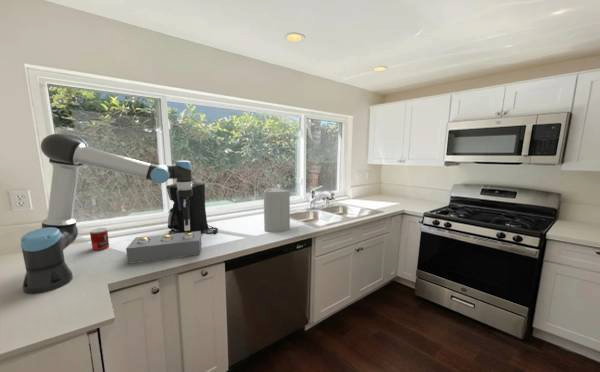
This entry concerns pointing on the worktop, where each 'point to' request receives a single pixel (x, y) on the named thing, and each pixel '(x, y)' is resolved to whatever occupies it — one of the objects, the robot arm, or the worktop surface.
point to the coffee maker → (195, 209)
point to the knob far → (188, 235)
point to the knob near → (144, 239)
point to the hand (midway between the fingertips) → (187, 230)
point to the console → (164, 247)
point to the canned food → (99, 239)
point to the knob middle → (166, 237)
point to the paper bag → (276, 210)
